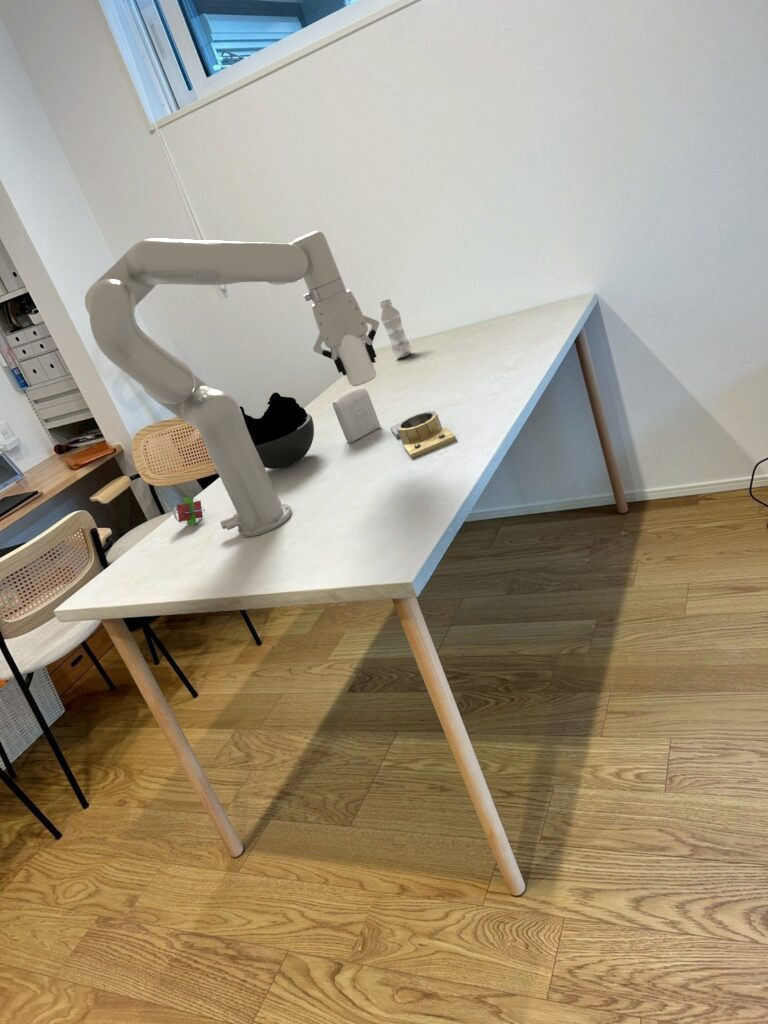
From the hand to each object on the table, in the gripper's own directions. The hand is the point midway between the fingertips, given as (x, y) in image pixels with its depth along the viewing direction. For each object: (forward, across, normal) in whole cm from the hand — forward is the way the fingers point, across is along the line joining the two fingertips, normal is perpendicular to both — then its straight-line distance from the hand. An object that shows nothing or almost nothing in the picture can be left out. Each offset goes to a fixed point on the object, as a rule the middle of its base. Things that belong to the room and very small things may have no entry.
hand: (358, 367), depth 176 cm
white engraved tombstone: (+22, -4, +25) cm, 34 cm away
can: (+3, 0, 0) cm, 3 cm away
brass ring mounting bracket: (+22, +8, +5) cm, 24 cm away
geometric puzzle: (+22, -51, +9) cm, 56 cm away
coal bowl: (+22, -25, +24) cm, 41 cm away
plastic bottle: (+23, +22, +94) cm, 99 cm away
